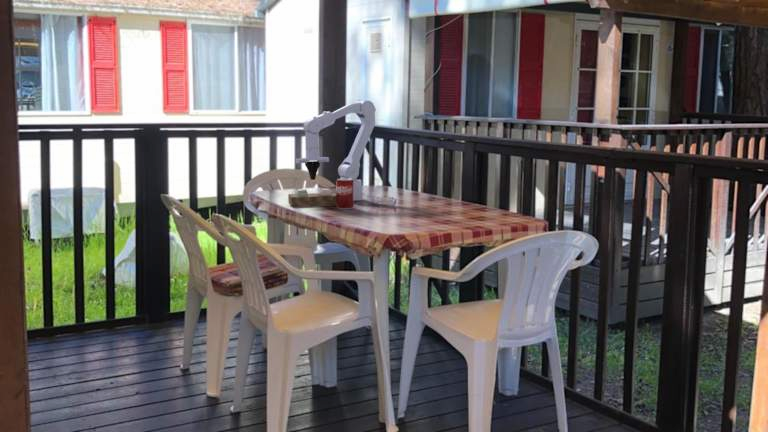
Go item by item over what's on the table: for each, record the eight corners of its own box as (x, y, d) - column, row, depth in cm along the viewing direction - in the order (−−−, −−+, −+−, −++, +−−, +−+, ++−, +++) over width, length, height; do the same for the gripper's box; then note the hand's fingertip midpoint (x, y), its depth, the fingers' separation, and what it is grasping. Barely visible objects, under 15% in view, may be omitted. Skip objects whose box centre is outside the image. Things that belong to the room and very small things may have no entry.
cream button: (329, 197, 352) (329, 188, 352) (331, 198, 348) (331, 189, 348) (319, 197, 351) (319, 188, 351) (320, 199, 347) (320, 190, 347)
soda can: (351, 209, 335) (351, 180, 333) (334, 209, 336) (334, 180, 334) (355, 207, 342) (355, 178, 340) (338, 206, 343) (338, 177, 341)
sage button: (306, 198, 350) (306, 189, 350) (307, 199, 346) (307, 190, 345) (295, 198, 349) (295, 189, 348) (297, 199, 345) (297, 190, 344)
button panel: (334, 202, 356) (334, 192, 356) (339, 205, 347) (339, 195, 346) (288, 203, 352) (288, 194, 351) (291, 206, 342) (291, 197, 341)
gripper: (324, 146, 359) (324, 177, 361) (292, 147, 352) (293, 179, 354) (330, 147, 352) (331, 179, 355) (299, 148, 346) (299, 181, 348)
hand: (312, 179), depth 354 cm, fingers closed
